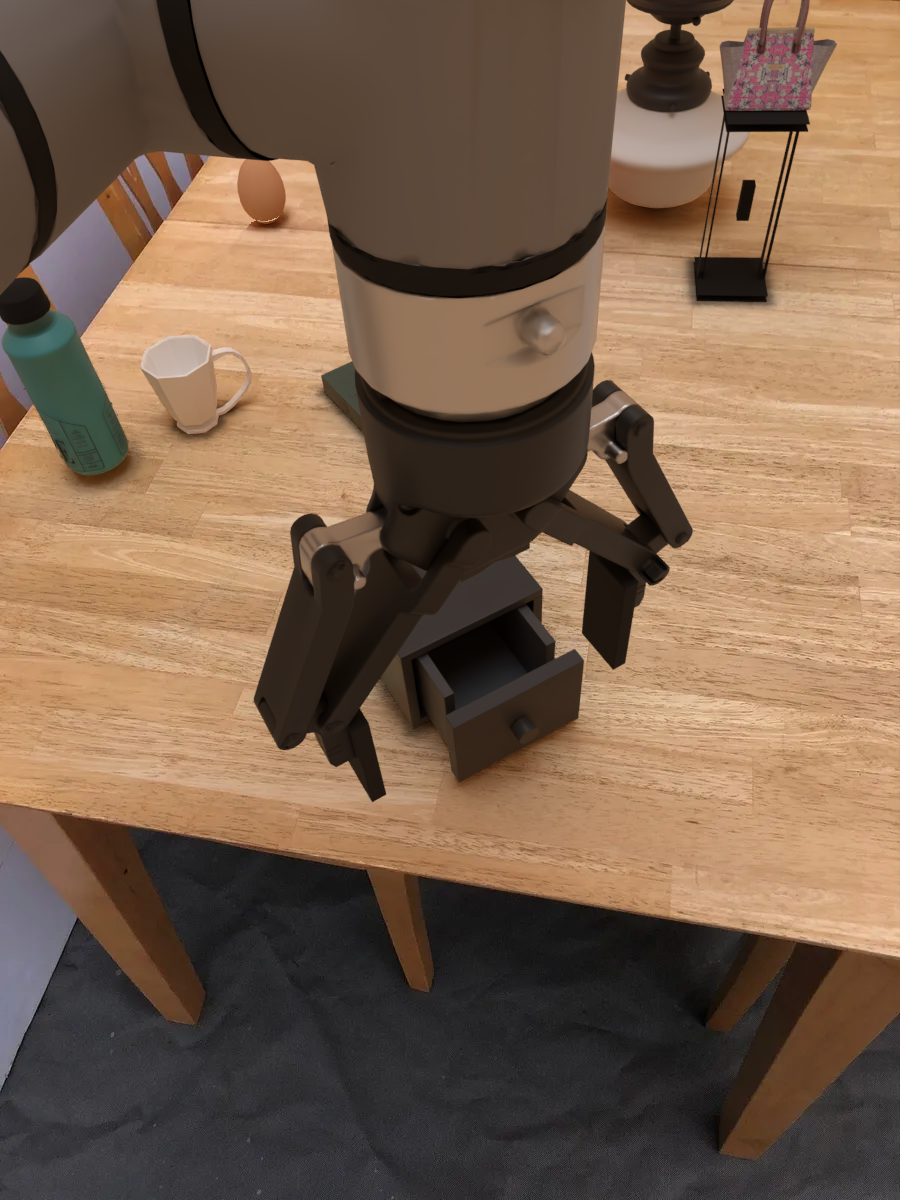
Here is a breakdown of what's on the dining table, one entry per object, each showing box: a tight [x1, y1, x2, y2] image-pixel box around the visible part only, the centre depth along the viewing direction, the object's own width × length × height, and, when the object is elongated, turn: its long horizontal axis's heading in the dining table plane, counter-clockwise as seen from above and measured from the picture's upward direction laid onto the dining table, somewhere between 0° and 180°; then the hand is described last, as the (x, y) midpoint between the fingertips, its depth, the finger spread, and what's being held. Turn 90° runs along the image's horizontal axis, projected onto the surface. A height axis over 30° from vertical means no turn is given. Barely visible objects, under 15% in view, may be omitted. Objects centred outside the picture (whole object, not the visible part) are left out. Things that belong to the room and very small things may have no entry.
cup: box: [139, 334, 253, 435], centre depth 92 cm, size 7×10×8 cm
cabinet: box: [354, 555, 544, 729], centre depth 72 cm, size 14×12×10 cm
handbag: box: [693, 0, 838, 303], centre depth 92 cm, size 10×8×30 cm
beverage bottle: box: [0, 277, 130, 476], centre depth 83 cm, size 6×7×20 cm
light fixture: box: [608, 0, 751, 209], centre depth 105 cm, size 20×20×25 cm
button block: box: [320, 360, 364, 434], centre depth 93 cm, size 12×10×4 cm
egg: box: [236, 159, 287, 225], centre depth 114 cm, size 6×6×8 cm
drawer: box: [411, 604, 585, 783], centre depth 68 cm, size 14×10×8 cm
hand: (489, 709), depth 45 cm, fingers open, 13 cm apart
